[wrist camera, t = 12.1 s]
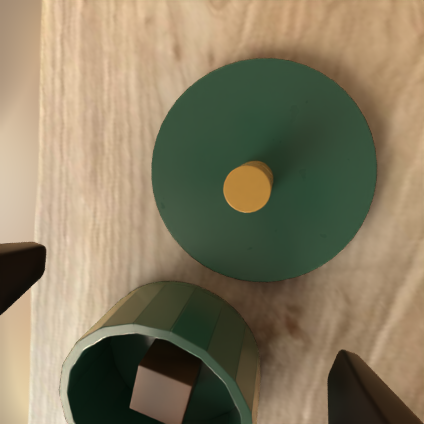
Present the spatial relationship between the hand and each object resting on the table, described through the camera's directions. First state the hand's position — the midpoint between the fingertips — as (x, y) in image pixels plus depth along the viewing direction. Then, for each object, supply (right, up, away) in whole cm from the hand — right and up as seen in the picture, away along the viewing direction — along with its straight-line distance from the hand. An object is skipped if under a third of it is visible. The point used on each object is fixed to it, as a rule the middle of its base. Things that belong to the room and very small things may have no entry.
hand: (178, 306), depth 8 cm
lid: (+4, +5, +11) cm, 13 cm away
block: (-2, -9, +16) cm, 18 cm away
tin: (-2, -9, +16) cm, 19 cm away
